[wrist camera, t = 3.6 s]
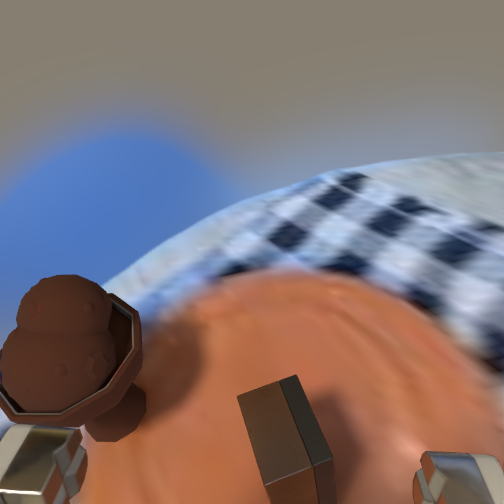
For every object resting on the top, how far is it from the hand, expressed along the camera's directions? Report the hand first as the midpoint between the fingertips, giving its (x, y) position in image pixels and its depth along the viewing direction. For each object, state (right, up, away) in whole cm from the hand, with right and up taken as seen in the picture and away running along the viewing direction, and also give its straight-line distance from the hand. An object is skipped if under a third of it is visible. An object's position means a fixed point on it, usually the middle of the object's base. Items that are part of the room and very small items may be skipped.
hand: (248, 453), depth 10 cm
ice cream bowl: (-12, -9, +27) cm, 31 cm away
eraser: (+3, -12, +21) cm, 24 cm away
